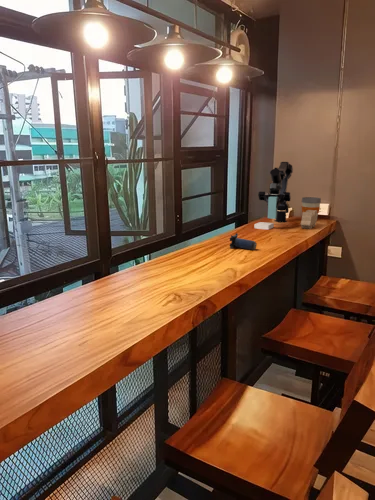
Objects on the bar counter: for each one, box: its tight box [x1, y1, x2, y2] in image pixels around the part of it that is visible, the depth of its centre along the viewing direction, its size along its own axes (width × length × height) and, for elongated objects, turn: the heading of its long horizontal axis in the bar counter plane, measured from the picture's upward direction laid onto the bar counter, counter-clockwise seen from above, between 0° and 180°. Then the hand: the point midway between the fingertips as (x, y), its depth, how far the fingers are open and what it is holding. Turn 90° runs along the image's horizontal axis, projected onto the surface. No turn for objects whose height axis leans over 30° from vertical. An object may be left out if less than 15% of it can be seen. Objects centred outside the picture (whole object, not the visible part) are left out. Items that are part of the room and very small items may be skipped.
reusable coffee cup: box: [301, 196, 322, 221], centre depth 270 cm, size 13×13×15 cm
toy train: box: [300, 210, 318, 230], centre depth 243 cm, size 6×17×10 cm, turn 150°
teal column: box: [267, 197, 278, 220], centre depth 235 cm, size 5×5×12 cm
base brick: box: [253, 221, 275, 230], centre depth 243 cm, size 9×9×3 cm
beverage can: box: [229, 232, 258, 251], centre depth 189 cm, size 9×8×12 cm
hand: (272, 207), depth 234 cm, fingers closed on teal column, 5 cm apart
